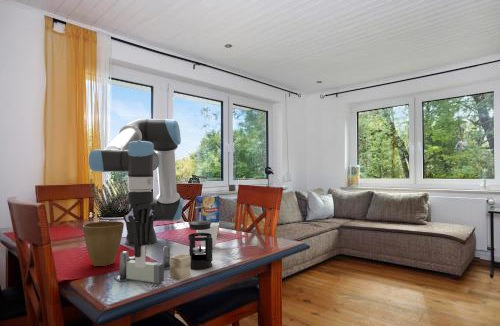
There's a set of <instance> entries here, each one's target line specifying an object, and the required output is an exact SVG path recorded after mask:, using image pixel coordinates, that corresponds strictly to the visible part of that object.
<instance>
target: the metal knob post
mask: <svg viewBox="0 0 500 326" xmlns="http://www.w3.org/2000/svg"><path fill="white" fill-rule="evenodd" d="M129 253H130V252H129V251H126V250H125V251H121V252H119V275H117V276H113V280H115V281H116V282H119V283H123V282H127V281H131V280H132V279H127V278H126V262H128V261H130V260H135V256H134V255H133V256H130V255H129Z"/></svg>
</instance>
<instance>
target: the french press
mask: <svg viewBox="0 0 500 326" xmlns="http://www.w3.org/2000/svg"><path fill="white" fill-rule="evenodd" d="M203 208H205V207H194V209H199V212H200V221H196V220H193V221H189V222H188V225H189V229H190V230H192V231H196V230H200V233H196V232H194V233H190V234H188V241H189V246H188V247H189V252H188V254H189V256H191V270H194V271H198V270H199V271H200V270H201V271H202V270H207V269H210V268H212V266H213V263H212V262H213V248H212V234H210V233H201V230H206V229H210V224H211V223H212V222H210V221H201V209H203ZM201 236H207V237H201ZM201 241H205V247H202V242H201ZM196 242H199V246H196Z"/></svg>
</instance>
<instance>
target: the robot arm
mask: <svg viewBox="0 0 500 326" xmlns="http://www.w3.org/2000/svg"><path fill="white" fill-rule="evenodd" d="M179 126H180V125H179V123H178V121H177V120H176V119H169V118H138V119H136V120H133V121H130V122H127V123H126V124H125V125H124V126H123V127H122V128H120V130H119V133H118V135H117V136H116V137H115V138H114V139H112V141H111V142H109V144H108V145H107V146H105V148H104V149H92V150H91V151H90V153H89V154H88V165H89V169H90V170H91V171H92V172H95V173H96V172H101V173H112V172H115V173H119V172H120V173H121V172H123V173H124V172H125V173H126V172H127V175H128V176H127V190H128V192H127V203H128V204H129V207H128V211H129V212H128V213H127V214H125V215H123V220H124V224H125V226H126V232H127V235H126V236H125V244H126V245H129V246H131V247H134V250H133V251H134V255H133V256H135V267H140V268H143V267H145V262H146V255H147V246H149V245H152V244H154V243H157V242H158V235H157V233H156V230H155V227H154V222H173V221H174V222H175V221H177V222H178V221H180V220H181V219H182V212H183V204H184V199H183V198H182V197H181V196H180V194H179V192H178V189H177V173H176V172H177V171H176V170H177V169H176V153H175V152H176V150H177V149H178V146H179V145H181V140H182V139H181V130H180V127H179ZM155 170H156V171H157V181H158V195H157V196H156V198H155V197H154V192H153V191H152V190H153V189H154V171H155Z"/></svg>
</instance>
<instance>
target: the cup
mask: <svg viewBox="0 0 500 326" xmlns="http://www.w3.org/2000/svg"><path fill="white" fill-rule="evenodd" d="M218 225H219V226H220V223H219V224H218V223H211V224H210V229H206V230H201V233H210V234H212V249H214V248H216V244H217V243H216V242H217V236H218V235H217V232H218ZM201 237H207V236H201ZM201 247H205V241H201Z"/></svg>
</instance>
